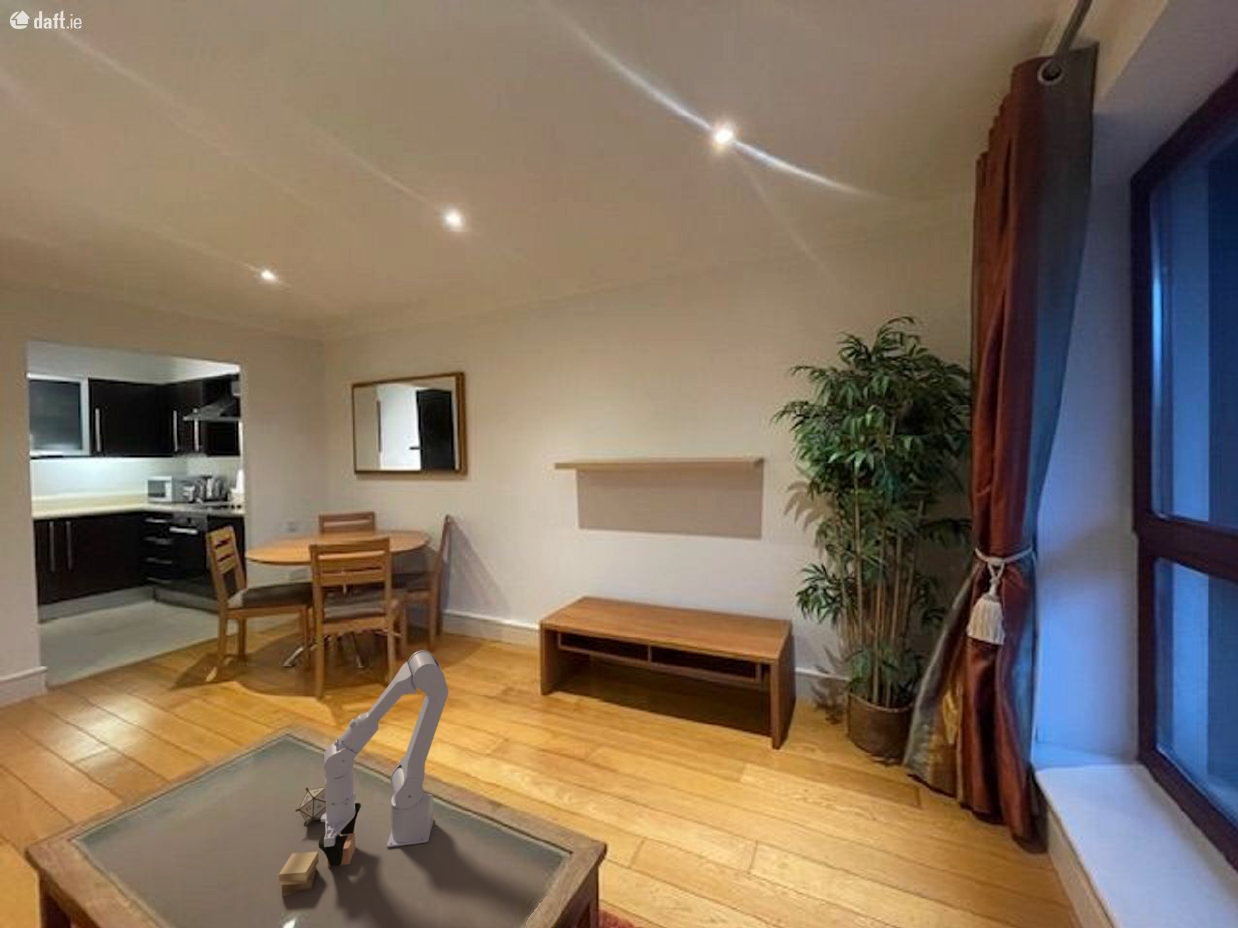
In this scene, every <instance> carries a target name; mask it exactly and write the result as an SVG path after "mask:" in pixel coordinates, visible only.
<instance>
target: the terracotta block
mask: <svg viewBox="0 0 1238 928" xmlns="http://www.w3.org/2000/svg"><path fill="white" fill-rule="evenodd" d="M346 835H348V837H347V839H346V841H345V844H344V848H343V857H342V862H341V865H340V866H346V865H350V863H351V860H352V858H353V855H354V853H355V851H356V833H355V832H354V833H351V834H343V835H341V834H340V836H346ZM327 868H331V867H330V864H329V862H328V861H327Z"/></svg>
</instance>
